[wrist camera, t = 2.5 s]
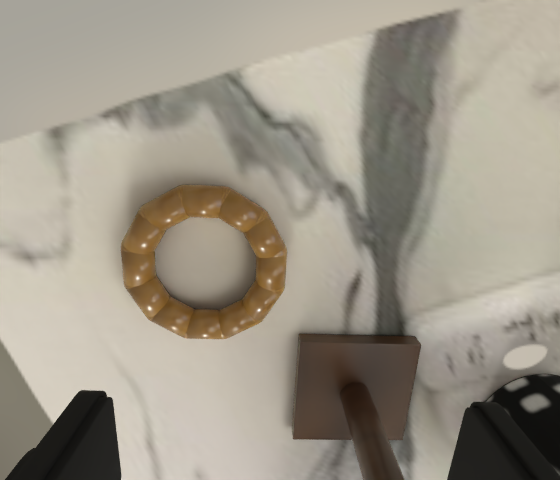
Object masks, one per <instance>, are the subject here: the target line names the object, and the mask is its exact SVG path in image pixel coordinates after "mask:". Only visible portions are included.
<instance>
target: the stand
mask: <svg viewBox="0 0 560 480" xmlns="http://www.w3.org/2000/svg"><path fill="white" fill-rule="evenodd" d="M420 348H421V344H420V342H419V341H418V340H417V338H416V337H415V336H372V335H328V334H299V340H298V354H297V367H296V381H295V394H294V408H293V421H292V434H293V439H326V440H352V441H353V444H354V448H355V452H356V455H357V459H358V462H359V466H360V469H361V473H362V476H363V480H404V477H403V475H402V472H401V470H400V467H399V465H398V462H397V460H396V457H395V455H394V452H393V450H392V447H391V445H390V442H389V440H403V436H404V430H405V425H406V420H407V415H408V410H409V405H410V400H411V394H412V389H413V384H414V379H415V374H416V369H417V364H418V359H419V353H420Z"/></svg>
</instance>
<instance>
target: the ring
mask: <svg viewBox="0 0 560 480" xmlns="http://www.w3.org/2000/svg"><path fill="white" fill-rule="evenodd" d="M189 217H203V218H219V219H221V220H223V221H224V222H226V223H228V224H229V225H231V226H233V227H234V228H236V229H238V230H239V231H241V232H243V233H244V235H245V237H246V238H247V240H248V242H249V244H250V245H251V247H252V249H253V251H254V252H255V254H256V280H255V281H254V283H253V284H252V286H251V287H250V289H249V290H248V292H247V293H246V295H245V296H244V298H243V299H241V300H239V301H237V302H235V303H233V304H231V305H229V306H227V307H225V308H223V309H221V310H211V309H193V308H191V307H189V306H188V305H186V304H184V303H182V302H180V301H178V300H176V299H174V298H172V297H171V296H170V295H169V294H168V292H167V291H166V289H165V288H164V286H163V285H162V283H161V282H160V280H159V279H158V277H157V276H156V268H155V252H154V251H155V249H156V247H157V245H158V244H159V242H160V240H161V238H162V236H163V235H164V233H165V231H166V229H168V228H170V227H172V226H174V225H176V224H178V223H180V222H181V221H183V220H185V219H187V218H189ZM121 257H122V268H123V279H124V285H125V288H126V289H127V291H128V292H129V294H130V295H131V296H132V298H133V299H134V300H135V302H136V303H137V305H138V306H139V307H140V309H141V310H142V312H143V313H144V314H145V316H146V317H147V318H148V319H149V320H150V321H152V322H154V323H156V324H158V325H160V326H162V327H164V328H166V329H168V330H170V331H172V332H173V333H175V334H177V335H179V336H181V337H184V338H190V339H227V338H229V337H231V336H234V335H236V334H238V333H240V332H242V331H244V330H246V329H248V328H250V327H252V326H254V325H257V324H259V323H260V322H262V321H263V319H264V318H265V317H266V315H267V314H268V312H269V311H270V310H271V308H272V307H273V305H274V304H275V302H276V301H277V300H278V298H279V297H280V295H281V294H282V292H283V291H284V288H285V275H286V257H287V249H286V246H285V244H284V242H283V240H282V238H281V236H280V234H279V233H278V231H277V229H276V227H275V225H274V223H273V221H272V220H271V218H270V216H269V214H268V212H267V211H266V210H265V209H263V208H262V207H260V206H259V205H257V204H255V203H254V202H252V201H251V200H249V199H247V198H246V197H244V196H242V195H241V194H239V193H238V192H236V191H234V190H233V189H231V188H229V187H226V186H207V185H180V186H177V187H175V188H174V189H172V190H170V191H168V192H166V193H164V194H162V195H161V196H159V197H157V198H155V199H153V200H151V201H150V202H148V203H146V204H144V205H143V206H142V207H141V208H140V209H139V211H138V213H137V215H136V216H135V218H134V220H133V222H132V224H131V226H130V228H129V229H128V231H127V233H126V235H125V237H124V239H123V240H122V243H121Z"/></svg>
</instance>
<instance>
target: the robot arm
mask: <svg viewBox="0 0 560 480" xmlns="http://www.w3.org/2000/svg"><path fill="white" fill-rule="evenodd" d="M5 480H121V468H120V459H119V450H118V441H117V433H116V424H115V415H114V406H113V400H112V398H111V397H107V395H106V392H105V391H86V390H82V391H79V392H78V393H77V394H76V396H75V397H74V398H73V399H72V401H71V402H70V403H69V405H68V406H67V407H66V409H65V410H64V411H63V413H62V414H61V415H60V416H59V418H58V419H57V420H56V422H55V423H54V424H53V426H52V427H51V428H50V430H49V431H48V432H47V434H46V435H45V436H44V437H43V439H42V440H41V441H40V443H39V444H38V445H37V447H36V448H33V449H31V450H30V451H28V452H27V453H26V454H25V455H24V456H23V457H22V459H21V460H20V461H19V462H18V464H17V465H16V466H15V468H14V469H13V470H12V472H11V473H10V474H9V475H8V477H7V478H6V479H5ZM447 480H560V475H559V474H558V473H557V471H556V470H555V469H554V468H553V467H552V466H551V464H550V463H549V462H548V461H547V460H546V458H545V457H544V456H543V455H542V454H541V452H540V451H539V450H538V449H537V448H536V446H535V445H534V444H533V443H532V442H531V441H530V439H529V438H528V437H527V436H526V435H525V433H524V432H523V431H522V430H521V429H520V427H519V426H518V425H517V424H516V423H515V421H514V420H513V419H512V418H511V417H510V416H509V414H508V413H507V412H506V411H505V410H504V408H503V407H502V406H501V405H500V404H498V403H496V402H473V403H472V404H471V406H470V408H466V410H465V413H464V416H463V420H462V424H461V428H460V432H459V436H458V440H457V444H456V447H455V451H454V455H453V459H452V463H451V467H450V471H449V475H448V479H447Z"/></svg>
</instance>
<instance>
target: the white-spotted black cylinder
mask: <svg viewBox="0 0 560 480" xmlns="http://www.w3.org/2000/svg"><path fill="white" fill-rule="evenodd" d="M486 402H496V403H498V404H500V405H501V406H502V407H503V408H504V410H505V411H506V412H507V413H508V414H509V416H510V417H511V418H512V419H513V420H514V421H515V423H516V424H517V425H518V426H519V427H520V429H521V430H522V431H523V432H524V433H525V435H526V436H527V437H528V438H529V439H530V441H531V442H532V443H533V444H534V445H535V446H536V448H537V449H538V450H539V451H540V452H541V454H542V455H543V456H544V457H545V458H546V460H547V461H548V462H549V463H550V464H551V466H552V467H553V468H554V469H555V470H556V471H557V473H558V474H559V475H560V377H559V376H556V375H549V374H540V375H532V376H527V377H523V378H520V379H517V380H515V381H512V382H511V383H509V384H507V385H505V386H503V387H502V388H500V389H499V390H498V391H496V392H495V393H494V394H493V395H492V396H491V397H490V398H489V399H488V400H487V401H486Z"/></svg>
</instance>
